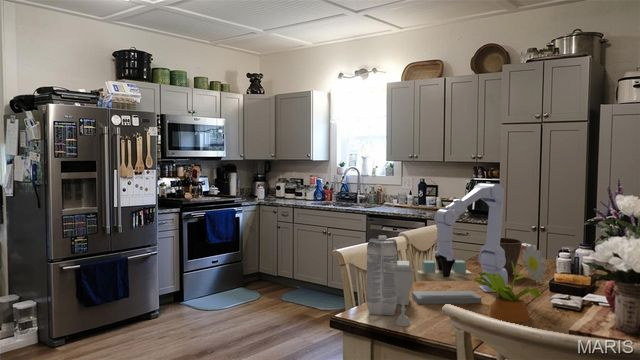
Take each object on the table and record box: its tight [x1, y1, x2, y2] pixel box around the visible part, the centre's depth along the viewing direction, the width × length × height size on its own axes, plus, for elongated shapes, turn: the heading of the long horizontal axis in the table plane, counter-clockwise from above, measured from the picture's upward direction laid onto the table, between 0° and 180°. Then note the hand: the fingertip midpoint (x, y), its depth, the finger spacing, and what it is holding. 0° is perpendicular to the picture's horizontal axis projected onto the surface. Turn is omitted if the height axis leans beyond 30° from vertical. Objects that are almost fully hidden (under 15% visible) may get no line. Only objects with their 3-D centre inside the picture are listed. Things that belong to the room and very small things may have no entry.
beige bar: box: [416, 269, 473, 282], centre depth 193 cm, size 20×5×3 cm, turn 92°
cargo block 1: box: [422, 260, 436, 273], centre depth 193 cm, size 4×4×4 cm
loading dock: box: [411, 290, 482, 305], centre depth 192 cm, size 24×10×2 cm, turn 92°
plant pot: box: [490, 237, 523, 277], centre depth 232 cm, size 15×15×16 cm
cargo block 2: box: [451, 259, 467, 273], centre depth 193 cm, size 4×4×4 cm
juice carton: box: [366, 235, 398, 317], centre depth 175 cm, size 9×10×27 cm
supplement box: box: [397, 260, 411, 306], centre depth 189 cm, size 9×9×15 cm
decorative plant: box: [473, 243, 548, 323], centre depth 172 cm, size 27×24×25 cm
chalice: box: [393, 267, 415, 327], centre depth 164 cm, size 7×7×18 cm
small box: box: [517, 242, 537, 268], centre depth 252 cm, size 8×6×10 cm
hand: (444, 275), depth 193 cm, fingers closed on beige bar, 5 cm apart
